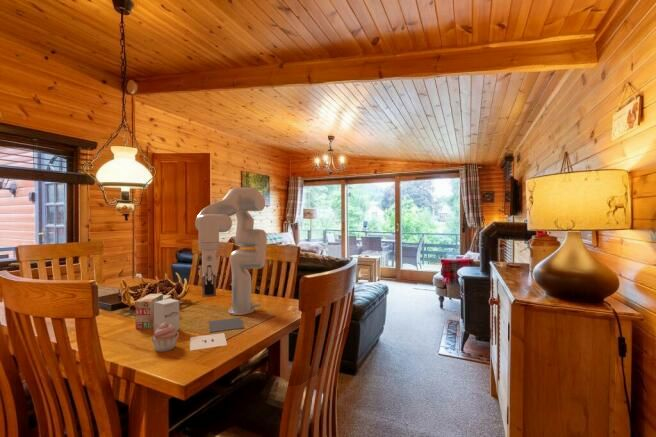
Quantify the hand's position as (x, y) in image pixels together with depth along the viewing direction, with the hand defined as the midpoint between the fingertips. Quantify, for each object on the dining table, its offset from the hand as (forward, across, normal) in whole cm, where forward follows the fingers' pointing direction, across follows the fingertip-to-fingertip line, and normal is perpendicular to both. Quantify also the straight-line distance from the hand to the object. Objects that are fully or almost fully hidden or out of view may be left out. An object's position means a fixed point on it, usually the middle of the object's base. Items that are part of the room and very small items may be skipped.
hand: (208, 292), depth 124 cm
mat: (+19, +15, -8) cm, 26 cm away
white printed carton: (+20, +34, +22) cm, 46 cm away
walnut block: (+1, 0, 0) cm, 1 cm away
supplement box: (+20, +18, +16) cm, 31 cm away
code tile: (+19, -1, 0) cm, 19 cm away
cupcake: (+19, -2, +15) cm, 25 cm away
